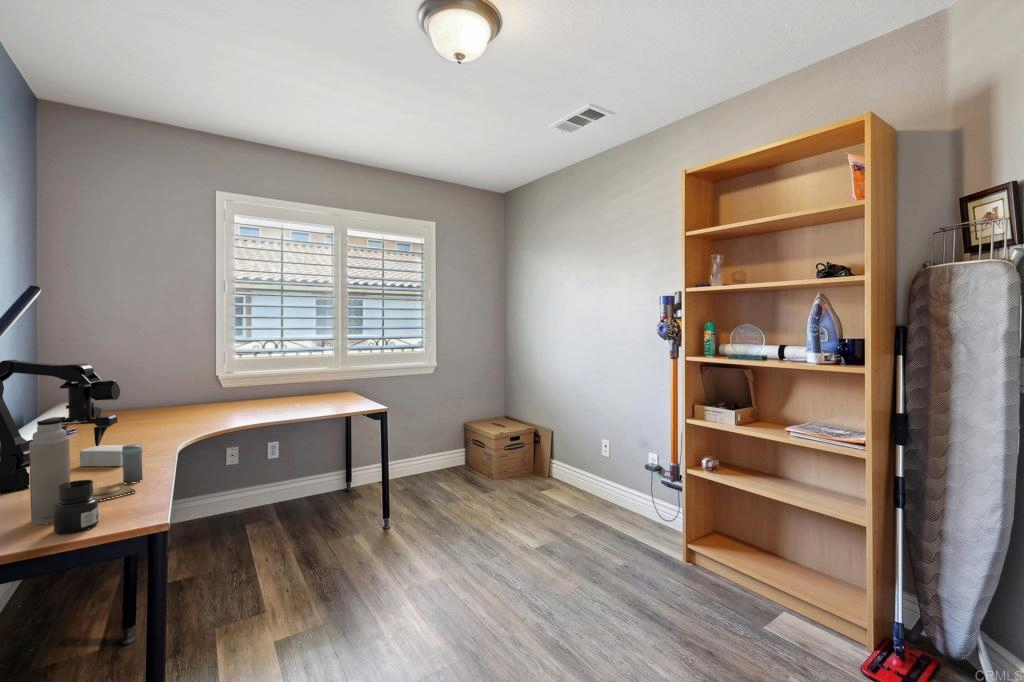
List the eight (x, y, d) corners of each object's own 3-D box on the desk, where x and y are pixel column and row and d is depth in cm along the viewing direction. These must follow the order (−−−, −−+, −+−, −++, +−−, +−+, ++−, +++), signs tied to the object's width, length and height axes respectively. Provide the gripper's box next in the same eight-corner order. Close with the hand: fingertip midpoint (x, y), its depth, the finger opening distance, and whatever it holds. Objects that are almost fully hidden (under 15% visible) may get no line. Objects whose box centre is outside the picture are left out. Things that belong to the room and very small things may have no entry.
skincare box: (79, 466, 178) (119, 468, 178) (78, 449, 178) (119, 450, 177) (98, 460, 186) (137, 461, 186) (98, 443, 186) (137, 444, 186)
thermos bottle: (24, 527, 126) (22, 423, 125) (40, 515, 133) (38, 418, 132) (63, 522, 129) (60, 421, 128) (76, 511, 136) (74, 416, 135)
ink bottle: (94, 531, 124) (93, 486, 124) (49, 538, 119) (47, 492, 119) (101, 518, 132) (101, 476, 132) (59, 525, 128) (58, 481, 127)
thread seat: (87, 504, 142) (86, 499, 141) (73, 496, 148) (73, 491, 148) (135, 493, 152) (135, 488, 152) (120, 485, 158) (120, 481, 158)
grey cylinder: (126, 485, 159) (125, 448, 158) (120, 482, 162) (119, 446, 161) (145, 480, 163) (144, 445, 163) (139, 477, 166) (138, 443, 166)
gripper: (125, 396, 168) (126, 439, 169) (61, 398, 163) (62, 442, 163) (108, 401, 157) (109, 447, 158) (39, 403, 152) (40, 451, 153)
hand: (81, 446), depth 158 cm, fingers open, 9 cm apart
